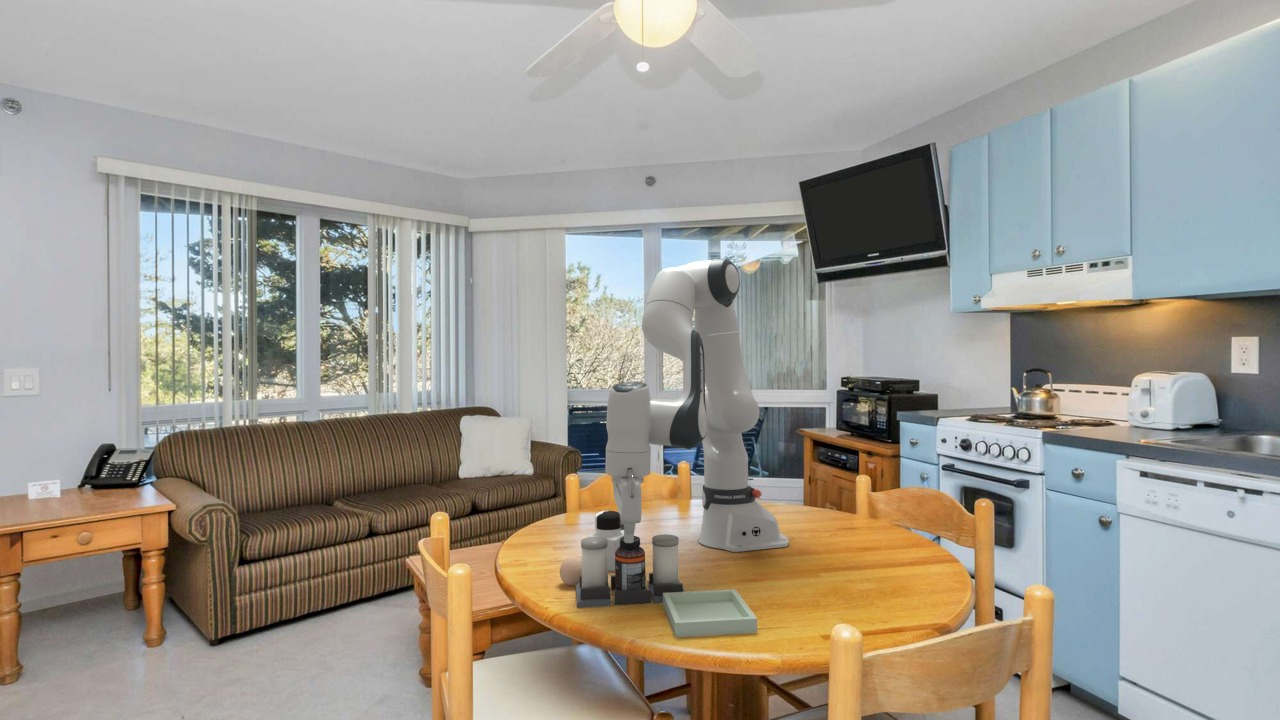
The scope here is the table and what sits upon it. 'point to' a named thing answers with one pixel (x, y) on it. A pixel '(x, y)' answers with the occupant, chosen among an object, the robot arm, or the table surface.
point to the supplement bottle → (629, 565)
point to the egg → (571, 570)
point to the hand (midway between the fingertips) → (626, 535)
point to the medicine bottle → (609, 534)
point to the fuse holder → (596, 579)
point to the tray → (708, 613)
